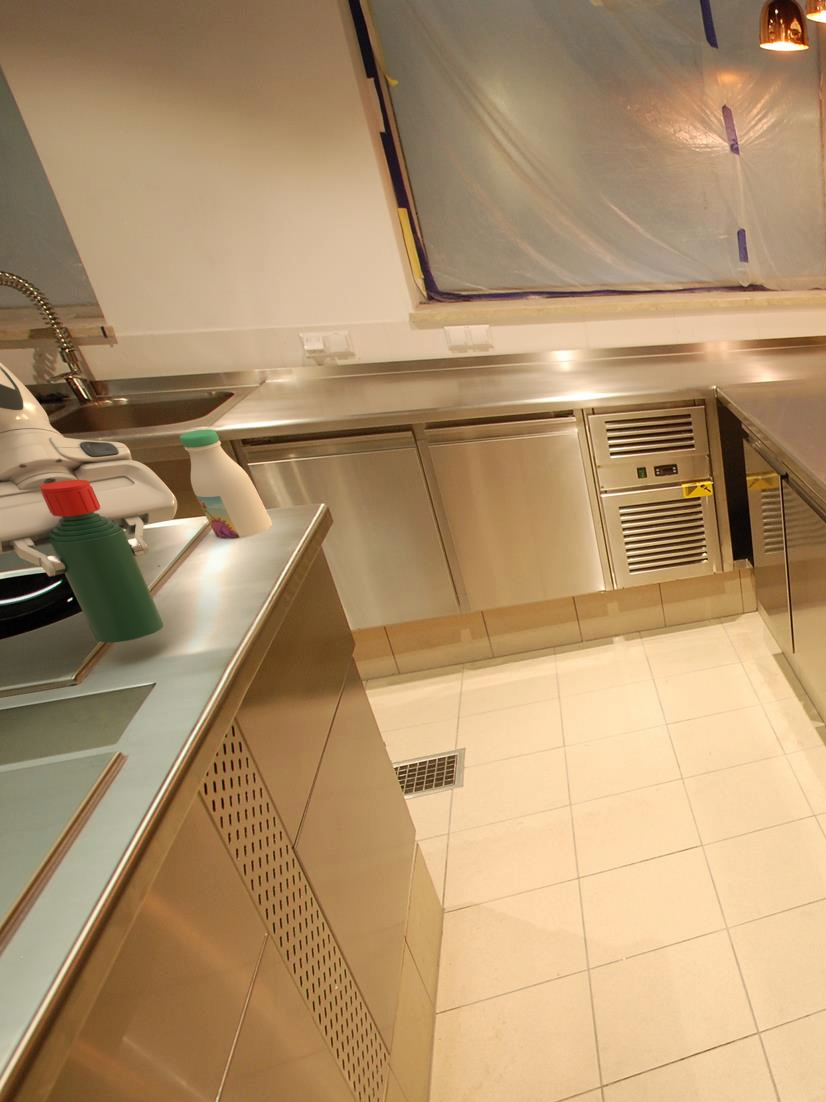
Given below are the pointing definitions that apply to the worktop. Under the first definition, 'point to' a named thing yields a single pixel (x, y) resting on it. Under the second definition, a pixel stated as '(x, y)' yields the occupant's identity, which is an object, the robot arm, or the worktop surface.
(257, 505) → the milk bottle
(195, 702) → the worktop surface
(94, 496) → the cap
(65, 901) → the worktop surface
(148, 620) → the bottle
